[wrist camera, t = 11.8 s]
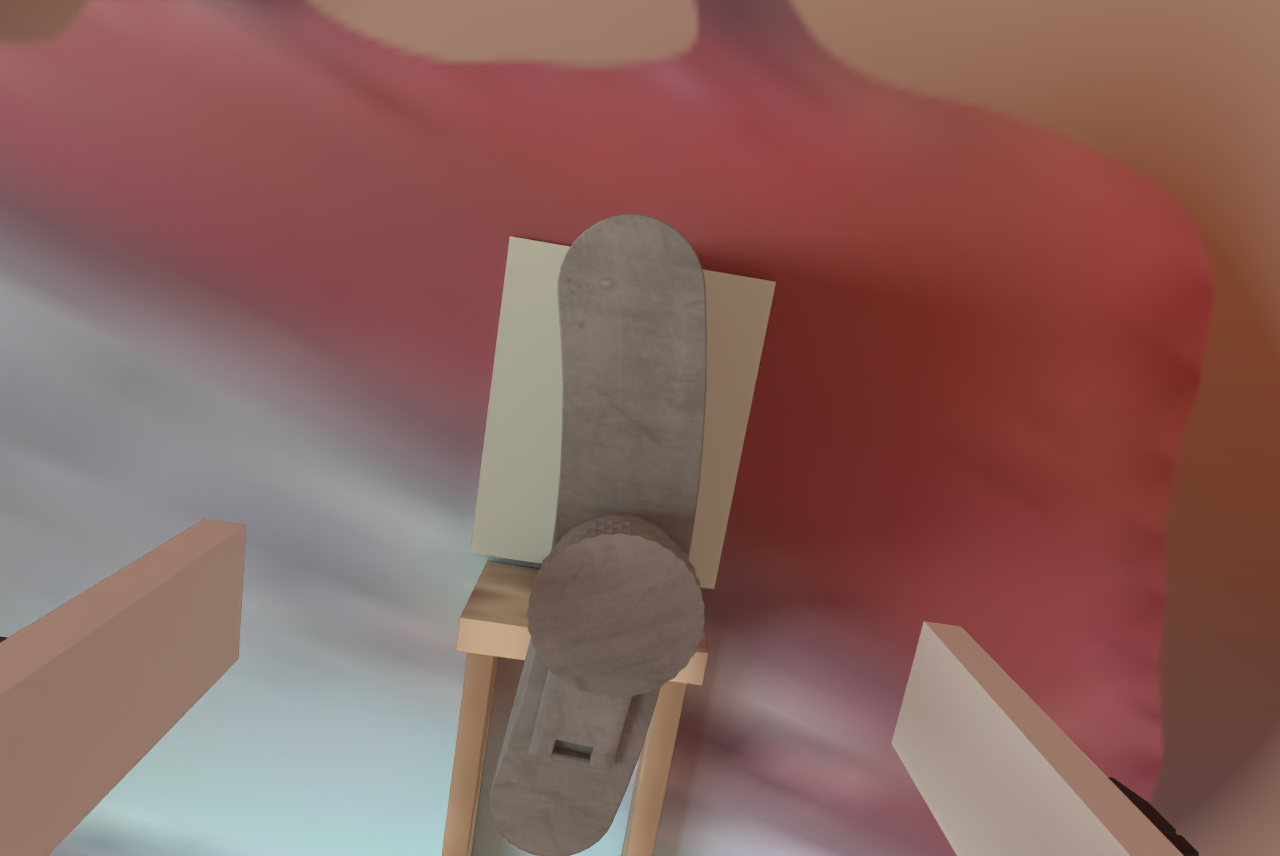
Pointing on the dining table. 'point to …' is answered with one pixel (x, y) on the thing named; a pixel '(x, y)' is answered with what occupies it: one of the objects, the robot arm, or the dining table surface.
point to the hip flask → (611, 535)
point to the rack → (486, 635)
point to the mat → (532, 409)
